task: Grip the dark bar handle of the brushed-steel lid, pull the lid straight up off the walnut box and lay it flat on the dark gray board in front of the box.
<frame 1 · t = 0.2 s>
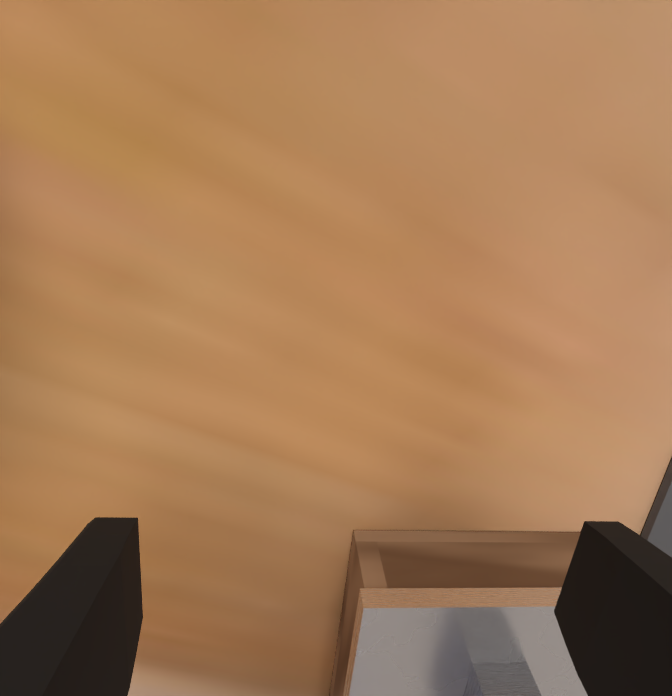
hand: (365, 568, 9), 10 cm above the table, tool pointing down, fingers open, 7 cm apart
walnut box: (455, 622, 25), on the table
lid: (471, 669, 23), point 2 cm above the table, touching walnut box
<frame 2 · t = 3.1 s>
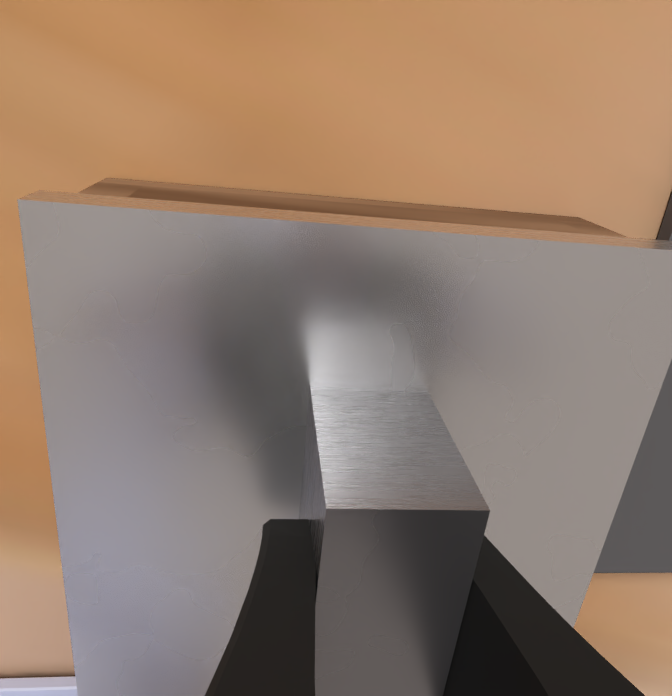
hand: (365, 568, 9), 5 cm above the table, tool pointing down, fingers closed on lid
walnut box: (333, 406, 14), on the table
lid: (343, 459, 12), point 2 cm above the table, touching gripper, walnut box
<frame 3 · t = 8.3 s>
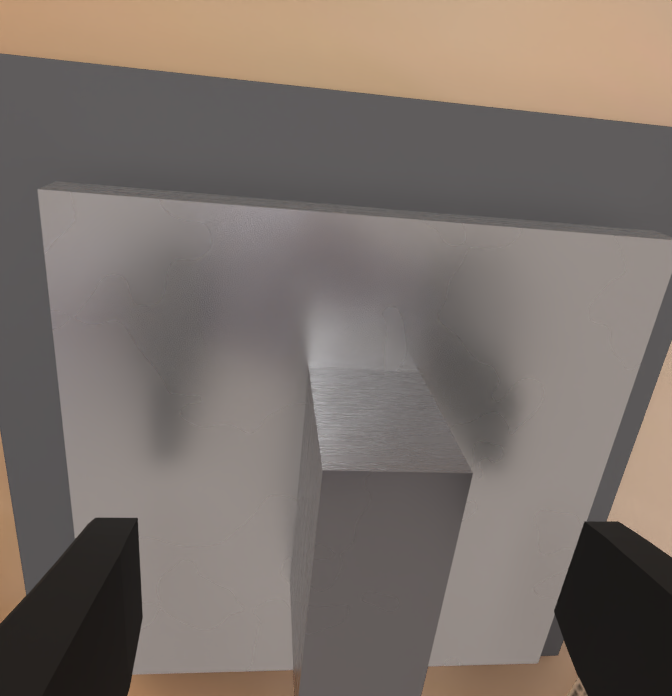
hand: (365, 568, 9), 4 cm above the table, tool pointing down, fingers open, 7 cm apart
lid: (340, 439, 13), resting on dark gray board
dark gray board: (338, 431, 13), on the table
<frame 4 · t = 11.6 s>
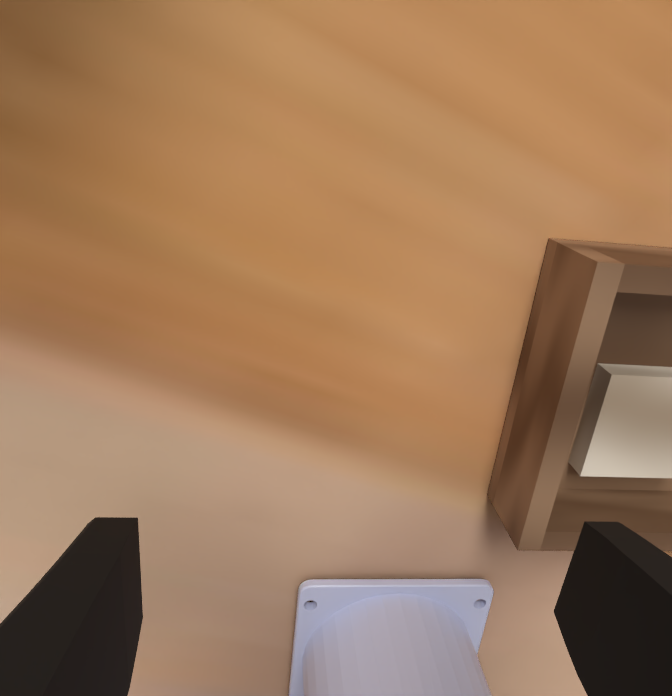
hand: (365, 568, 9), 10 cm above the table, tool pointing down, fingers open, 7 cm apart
walnut box: (645, 384, 21), on the table
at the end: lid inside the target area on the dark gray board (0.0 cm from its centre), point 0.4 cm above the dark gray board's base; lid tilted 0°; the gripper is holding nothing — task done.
